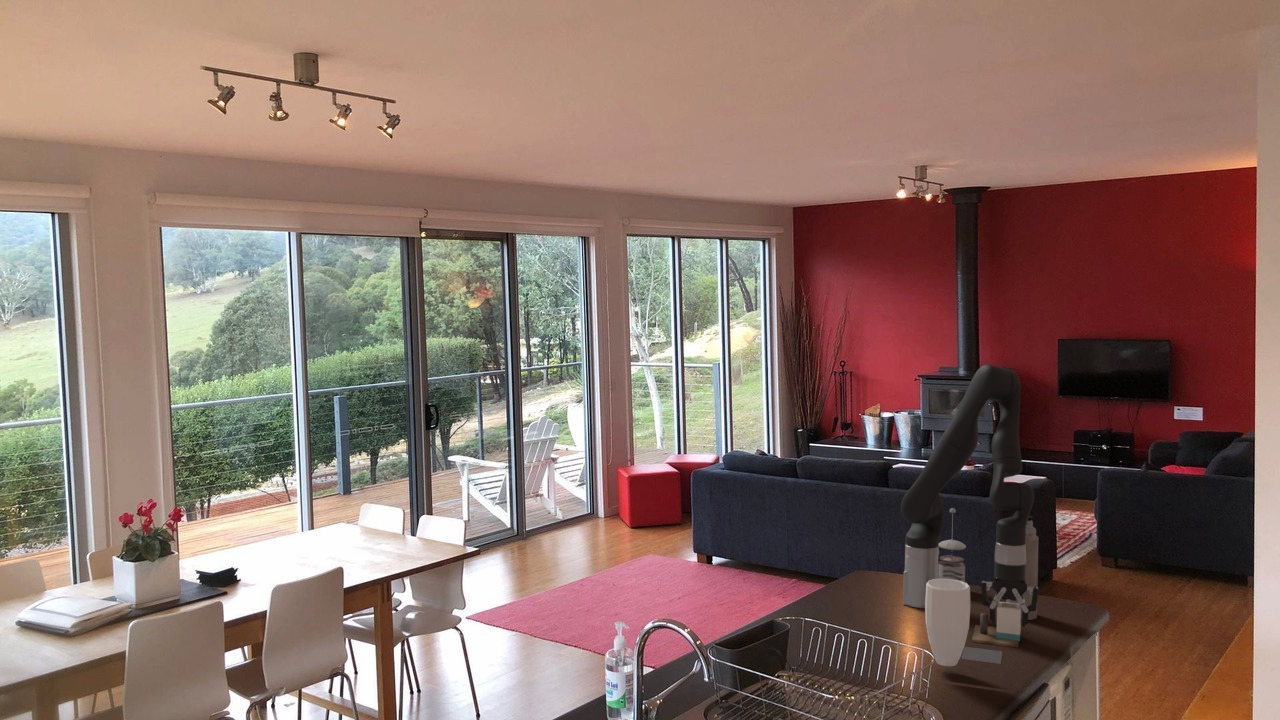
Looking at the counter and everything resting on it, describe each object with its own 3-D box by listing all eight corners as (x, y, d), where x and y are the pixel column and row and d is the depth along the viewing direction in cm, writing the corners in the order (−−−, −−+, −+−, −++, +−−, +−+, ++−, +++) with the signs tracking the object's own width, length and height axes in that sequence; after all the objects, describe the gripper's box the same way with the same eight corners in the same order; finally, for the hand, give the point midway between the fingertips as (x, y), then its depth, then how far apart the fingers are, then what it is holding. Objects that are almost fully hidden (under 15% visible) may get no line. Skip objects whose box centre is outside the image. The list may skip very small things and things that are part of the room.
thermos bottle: (1002, 610, 277) (1004, 512, 276) (1031, 611, 277) (1034, 512, 275) (1010, 619, 269) (1012, 518, 268) (1040, 620, 269) (1042, 519, 267)
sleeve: (996, 638, 251) (997, 607, 251) (997, 631, 256) (998, 601, 256) (1019, 641, 249) (1020, 610, 249) (1020, 634, 254) (1021, 603, 254)
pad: (961, 661, 239) (961, 658, 239) (964, 648, 247) (964, 646, 247) (1000, 666, 235) (1000, 663, 235) (1002, 653, 243) (1002, 651, 243)
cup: (933, 663, 237) (935, 575, 236) (976, 673, 231) (978, 583, 229) (915, 676, 229) (917, 585, 228) (959, 687, 223) (961, 593, 221)
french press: (970, 596, 291) (972, 512, 289) (929, 593, 293) (931, 510, 291) (966, 586, 300) (967, 505, 299) (926, 584, 303) (928, 504, 301)
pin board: (971, 643, 250) (972, 620, 250) (975, 629, 262) (975, 606, 261) (1018, 649, 246) (1018, 625, 246) (1019, 634, 257) (1020, 611, 257)
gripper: (979, 561, 251) (978, 625, 252) (1040, 566, 245) (1038, 632, 246) (981, 553, 258) (980, 616, 259) (1040, 559, 252) (1039, 623, 253)
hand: (1008, 623), depth 252 cm, fingers open, 6 cm apart
